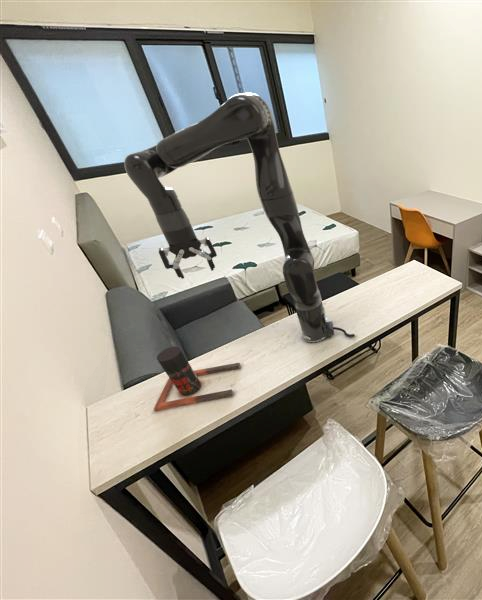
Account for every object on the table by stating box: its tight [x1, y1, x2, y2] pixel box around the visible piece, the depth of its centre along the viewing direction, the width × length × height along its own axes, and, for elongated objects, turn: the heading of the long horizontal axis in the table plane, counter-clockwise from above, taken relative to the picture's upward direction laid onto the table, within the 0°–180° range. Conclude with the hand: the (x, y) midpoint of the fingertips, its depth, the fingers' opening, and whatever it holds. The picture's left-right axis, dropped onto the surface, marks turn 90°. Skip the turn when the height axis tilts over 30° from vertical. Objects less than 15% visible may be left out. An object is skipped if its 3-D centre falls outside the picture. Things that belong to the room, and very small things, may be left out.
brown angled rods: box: [153, 362, 242, 412], centre depth 100 cm, size 22×13×2 cm, turn 102°
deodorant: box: [156, 346, 202, 397], centre depth 96 cm, size 6×6×15 cm
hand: (198, 273), depth 103 cm, fingers open, 8 cm apart
